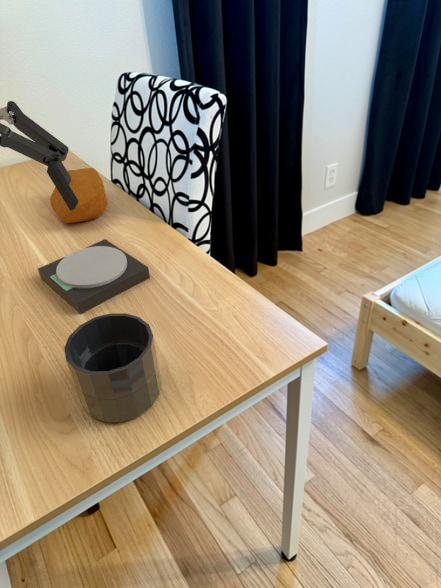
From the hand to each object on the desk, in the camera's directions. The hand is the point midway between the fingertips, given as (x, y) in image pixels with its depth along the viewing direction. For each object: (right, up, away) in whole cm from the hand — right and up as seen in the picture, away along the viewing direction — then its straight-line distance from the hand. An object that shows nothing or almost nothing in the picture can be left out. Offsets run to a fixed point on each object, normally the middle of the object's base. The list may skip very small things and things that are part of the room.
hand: (29, 223), depth 57 cm
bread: (-9, +10, +48) cm, 49 cm away
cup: (+12, -23, +4) cm, 26 cm away
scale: (+1, -6, +25) cm, 26 cm away
